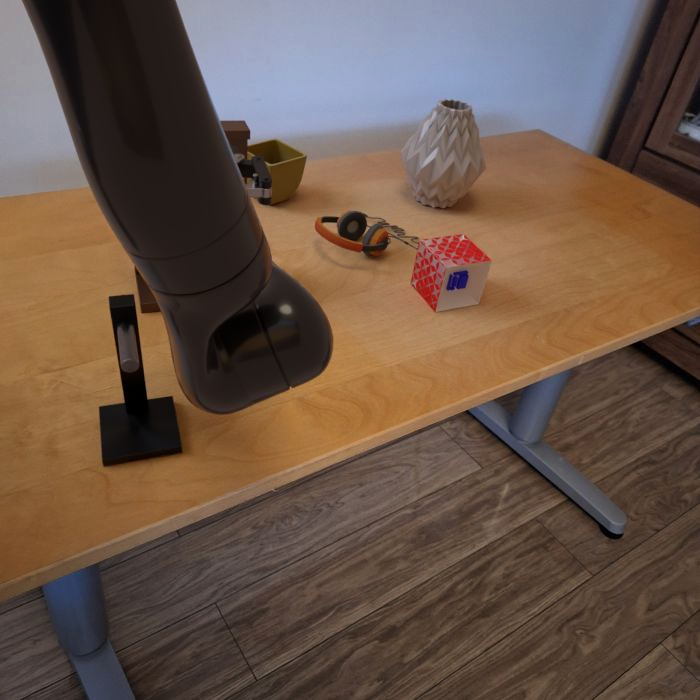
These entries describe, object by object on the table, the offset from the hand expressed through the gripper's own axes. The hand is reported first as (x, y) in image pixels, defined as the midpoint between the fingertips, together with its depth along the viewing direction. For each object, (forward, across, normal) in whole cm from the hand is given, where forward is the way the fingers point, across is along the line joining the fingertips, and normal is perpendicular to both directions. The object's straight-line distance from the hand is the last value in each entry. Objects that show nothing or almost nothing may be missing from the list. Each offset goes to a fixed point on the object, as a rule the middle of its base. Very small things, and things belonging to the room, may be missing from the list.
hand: (184, 151), depth 64 cm
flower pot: (+40, -20, +26) cm, 52 cm away
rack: (+13, -2, +26) cm, 29 cm away
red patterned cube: (+5, -39, +26) cm, 47 cm away
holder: (-14, +8, +26) cm, 31 cm away
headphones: (+21, -32, +26) cm, 46 cm away
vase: (+36, -52, +26) cm, 69 cm away
